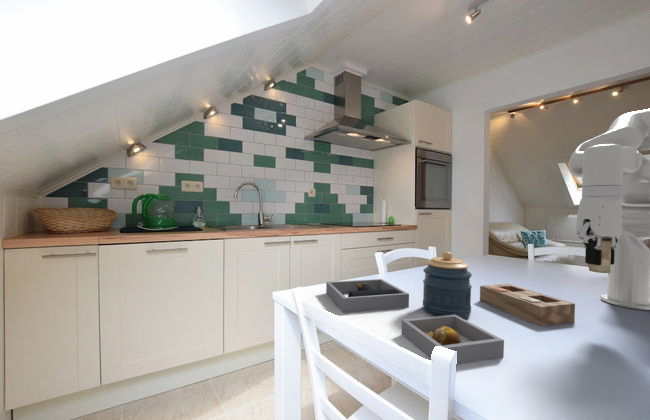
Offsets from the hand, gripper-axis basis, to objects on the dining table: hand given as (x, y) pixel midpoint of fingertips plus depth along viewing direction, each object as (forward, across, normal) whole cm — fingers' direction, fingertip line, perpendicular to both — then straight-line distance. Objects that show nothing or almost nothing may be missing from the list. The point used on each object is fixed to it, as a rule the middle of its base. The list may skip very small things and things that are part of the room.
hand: (599, 263), depth 73 cm
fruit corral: (+16, +45, -1) cm, 48 cm away
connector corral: (+16, +51, -33) cm, 63 cm away
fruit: (+17, +47, -3) cm, 50 cm away
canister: (+17, +32, -18) cm, 41 cm away
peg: (+2, 0, 0) cm, 2 cm away
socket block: (+17, +8, -14) cm, 23 cm away
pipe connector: (+17, +51, -31) cm, 62 cm away
